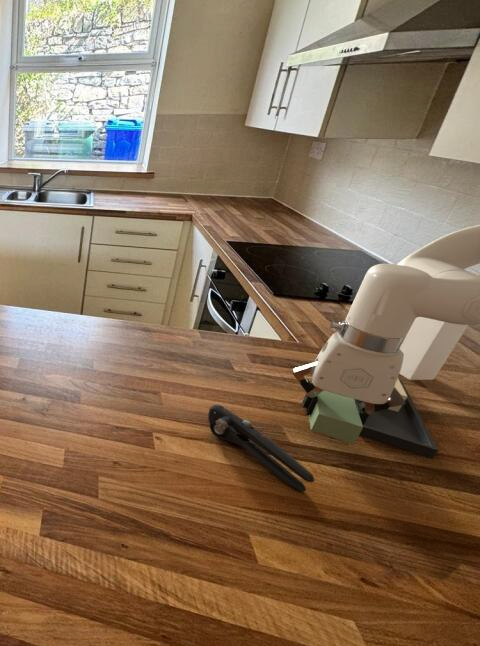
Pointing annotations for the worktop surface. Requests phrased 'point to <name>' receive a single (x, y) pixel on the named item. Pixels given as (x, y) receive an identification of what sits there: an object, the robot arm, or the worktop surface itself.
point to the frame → (400, 428)
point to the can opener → (240, 433)
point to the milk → (428, 347)
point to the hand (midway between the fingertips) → (329, 417)
